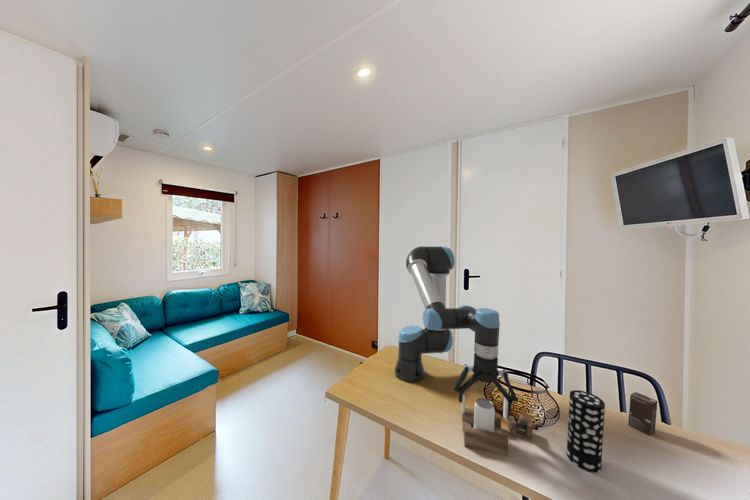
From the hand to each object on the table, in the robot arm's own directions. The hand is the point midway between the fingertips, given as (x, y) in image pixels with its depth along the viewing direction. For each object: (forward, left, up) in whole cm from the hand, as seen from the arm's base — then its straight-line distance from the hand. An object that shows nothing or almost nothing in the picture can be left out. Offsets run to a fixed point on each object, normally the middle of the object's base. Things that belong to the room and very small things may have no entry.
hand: (483, 414), depth 88 cm
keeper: (-2, +13, -2) cm, 13 cm away
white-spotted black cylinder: (+2, +29, -8) cm, 30 cm away
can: (0, 0, -8) cm, 8 cm away
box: (-20, +57, -8) cm, 61 cm away
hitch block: (-1, +5, -8) cm, 9 cm away
